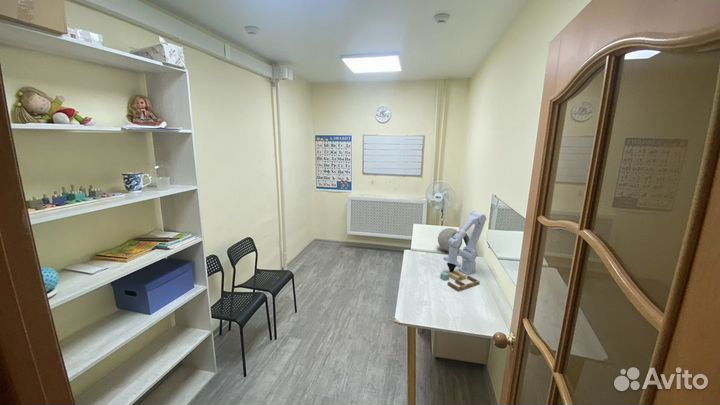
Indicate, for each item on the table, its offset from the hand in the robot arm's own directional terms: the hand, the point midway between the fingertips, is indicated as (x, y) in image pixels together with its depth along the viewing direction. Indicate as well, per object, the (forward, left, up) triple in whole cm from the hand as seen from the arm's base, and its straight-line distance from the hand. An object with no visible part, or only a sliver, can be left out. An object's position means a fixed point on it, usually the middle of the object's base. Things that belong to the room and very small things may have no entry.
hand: (451, 272), depth 193 cm
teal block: (+9, +3, -1) cm, 9 cm away
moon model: (-32, -32, -1) cm, 46 cm away
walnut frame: (+3, +14, -1) cm, 15 cm away
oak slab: (0, +5, -1) cm, 5 cm away
